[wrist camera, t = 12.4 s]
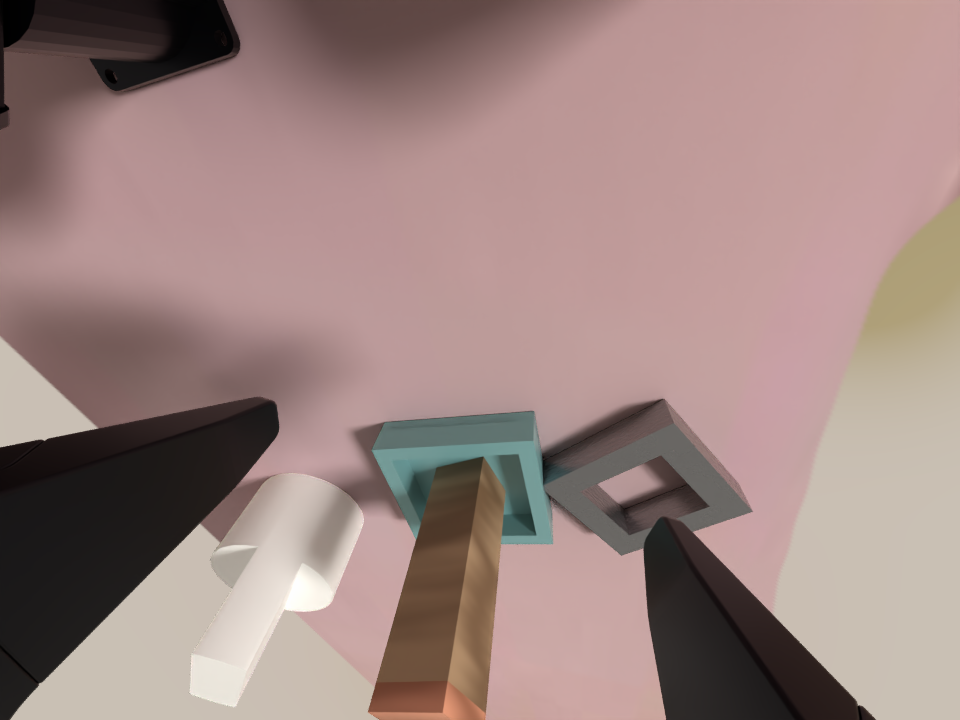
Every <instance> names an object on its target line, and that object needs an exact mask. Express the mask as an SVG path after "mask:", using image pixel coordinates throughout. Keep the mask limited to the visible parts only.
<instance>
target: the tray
mask: <svg viewBox="0 0 960 720" xmlns="http://www.w3.org/2000/svg"><path fill="white" fill-rule="evenodd" d="M372 452H373V454H374V456H375V458H376V460H377V462H378V464H379V466H380V468H381V470H382V472H383V474H384V476H385V478H386V480H387V482H388V484H389V486H390V488H391V490H392V492H393V494H394V496H395V498H396V500H397V502H398V504H399V506H400V508H401V510H402V512H403V514H404V516H405V518H406V520H407V522H408V524H409V526H410V528H411V530H412V532H413V534H414V536H415V538H416V539H417V536H418V532H419V528H420V525H421V521H422V518H423V514H424V511H425V507H426V503H427V500H428V496H429V493H430V489H431V486H432V482H433V479H434V475H435V471H436V468H437V467H441V466H445V465H450V464H454V463H458V462H462V461H466V460H471V459H475V458H479V457H483V456H484V458H485V459H486V461H487V463H488V464H489V466H490V467H491V469H492V470H493V472H494V473H495V475H496V477H497V478H498V480H499V481H500V483H501V484H502V486H503V487H504V489H505V491H506V492H505V504H504V515H503V526H502V537H501V544H553V525H552V509H551V503H550V498H549V494H548V493H547V492H546V491H544V487H543V458H542V453H541V447H540V442H539V436H538V430H537V425H536V419H535V413H534V411H531V412H518V413H504V414H491V415H477V416H464V417H450V418H437V419H424V420H410V421H397V422H385V423H384V425H383V427H382V429H381V431H380V433H379V435H378V438H377V440H376V442H375V444H374V446H373V448H372Z"/></svg>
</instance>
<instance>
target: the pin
mask: <svg viewBox="0 0 960 720" xmlns="http://www.w3.org/2000/svg"><path fill="white" fill-rule="evenodd" d="M505 492H506V491H505V489H504V487H503V486H502V484H501V483H500V481H499V480H498V478H497V477H496V475H495V473H494V472H493V470H492V469H491V467H490V466H489V464H488V463H487V461H486V459H485V458H484V456H483V457H479V458H475V459H471V460H466V461H462V462H458V463H454V464H450V465H445V466H441V467H437V468H436V471H435V475H434V479H433V482H432V486H431V489H430V493H429V496H428V500H427V503H426V507H425V511H424V514H423V518H422V521H421V525H420V528H419V532H418V536H417V539H416V543H415V546H414V550H413V553H412V557H411V560H410V564H409V568H408V571H407V575H406V578H405V582H404V585H403V589H402V592H401V596H400V600H399V603H398V607H397V610H396V614H395V617H394V621H393V625H392V628H391V632H390V635H389V639H388V642H387V646H386V649H385V653H384V657H383V660H382V664H381V667H380V671H379V674H378V678H377V681H376V685H375V689H374V693H373V696H372V699H371V703H370V706H369V710H368V712H369V713H370V714H371V715H373V716H374V717H376V718H378V719H379V720H485V716H486V704H487V693H488V682H489V671H490V660H491V649H492V637H493V626H494V615H495V604H496V593H497V582H498V571H499V559H500V548H501V537H502V526H503V515H504V504H505Z"/></svg>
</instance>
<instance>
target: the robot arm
mask: <svg viewBox="0 0 960 720" xmlns="http://www.w3.org/2000/svg"><path fill="white" fill-rule="evenodd" d="M222 33H224V34H225V35H226V37H227V45H226V46H225V45H224V44H223V42H222V39H221V35H222ZM239 50H240V41H239V37H238V34H237V32H236V30H235V27H234V25H233V23H232V20H231V18H230V15H229V13H228V11H227V8H226V6H225V4H224V1H223V0H0V130H1V129H3V128H5V127H7V126H9V107H8V106H7V105H5V104H4V51H8V52H20V53H33V54H45V55H57V56H69V57H81V58H89V59H90V60H91V62H92V64H93V65H94V67H95V69H96V70H97V72H98V74H99V75H100V77H101V79H102V80H103V82H104V83H105V84H106V85H107V86H108V87H109V88H110V89H112V90H115V91H129V90H132V89H135V88H138V87H141V86H144V85H147V84H150V83H153V82H156V81H159V80H162V79H165V78H168V77H171V76H174V75H177V74H180V73H183V72H186V71H189V70H192V69H196V68H199V67H202V66H205V65H208V64H211V63H214V62H217V61H220V60H223V59H226V58H229V57H232V56H235V55H236V54H238V52H239ZM113 73H115V74H116V76H117V80H116V79H115V77H114V75H113ZM278 432H279V420H278V412H277V405H276V403H275V402H274V401H273V400H269V399H266V398H263V397H253V398H248V399H243V400H238V401H233V402H228V403H223V404H218V405H213V406H208V407H203V408H198V409H193V410H188V411H183V412H178V413H173V414H169V415H164V416H159V417H154V418H149V419H144V420H139V421H134V422H129V423H124V424H119V425H114V426H109V427H104V428H99V429H94V430H89V431H84V432H79V433H74V434H69V435H64V436H59V437H54V438H49V439H47V440H45V441H44V440H35V441H31V442H25V443H21V444H15V445H10V446H6V447H0V720H10V719H11V718H12V716H13V715H14V714H15V712H16V711H17V709H18V708H19V707H20V706H21V705H22V703H23V702H24V701H25V700H26V699H27V697H29V696H30V694H31V693H32V692H33V691H34V690H35V689H36V688H37V687H38V686H39V683H42V682H43V681H44V680H45V679H46V678H47V677H48V676H49V675H50V674H51V673H52V672H53V671H54V670H55V669H56V668H57V667H58V666H59V665H60V664H61V663H62V662H63V661H64V660H65V659H66V658H67V657H68V656H69V655H70V654H71V653H72V652H73V651H74V650H75V649H76V648H77V647H78V646H79V645H80V644H81V643H82V642H83V641H84V640H85V639H86V638H87V637H88V636H89V635H90V634H91V633H92V632H93V630H95V628H97V627H98V626H99V625H100V624H101V622H103V620H105V618H106V617H108V615H109V614H110V613H111V612H112V611H113V610H114V609H115V608H116V607H117V606H118V605H119V604H120V603H121V602H122V601H123V600H124V599H125V598H126V597H127V596H128V595H129V594H130V593H131V592H132V591H133V590H134V589H135V588H136V587H137V586H138V585H139V584H140V583H141V582H142V581H143V580H144V579H145V578H146V577H147V576H148V575H149V574H150V573H151V572H152V571H153V570H154V569H155V568H156V567H157V566H158V565H159V564H160V563H161V562H162V561H163V560H164V559H165V558H166V557H167V556H168V555H169V554H170V553H171V552H172V551H173V550H174V549H175V548H176V547H177V546H178V545H179V544H180V543H181V542H182V541H183V540H184V539H185V538H186V537H187V536H188V535H189V534H190V533H191V532H192V531H193V530H194V529H195V528H196V527H197V525H199V524H200V523H201V522H202V521H203V520H204V519H205V518H206V517H207V515H208V514H209V513H210V512H211V511H212V510H213V509H214V508H215V507H216V506H217V505H218V504H219V503H220V502H221V501H222V500H223V499H224V498H225V497H226V496H227V495H228V494H229V493H230V492H231V491H232V490H233V489H234V488H235V487H236V486H237V485H238V484H239V482H240V481H241V480H242V479H243V478H244V477H245V475H246V474H247V473H248V472H249V470H250V469H251V468H252V467H253V465H254V464H255V463H256V462H257V461H258V459H259V458H260V457H261V456H262V454H263V453H264V452H265V451H266V449H267V448H268V447H269V446H270V444H271V443H272V442H273V441H274V439H275V438H276V436H277V434H278ZM644 566H645V581H646V597H647V610H648V619H649V625H650V631H651V637H652V642H653V648H654V654H655V659H656V665H657V670H658V676H659V682H660V687H661V693H662V698H663V704H664V709H665V715H666V720H876V719H875V718H874V717H873V716H872V715H871V714H870V713H869V712H868V711H867V710H866V709H865V708H864V707H863V706H860V705H859V706H858V704H857V701H856V700H855V699H854V698H853V697H852V696H851V695H850V694H849V692H848V691H847V690H846V689H844V687H843V686H841V684H840V683H839V682H838V681H837V680H836V679H835V678H834V677H833V676H832V675H831V674H830V673H829V672H828V671H827V670H826V669H825V668H824V667H823V666H822V665H821V664H820V663H819V662H818V661H817V660H816V659H815V658H814V657H813V656H812V654H810V652H809V651H808V650H807V649H806V648H805V647H804V646H803V645H802V644H801V643H800V642H799V641H798V640H797V639H796V638H795V637H794V636H793V635H792V634H791V633H790V632H789V631H788V630H787V629H786V628H785V627H784V626H783V625H782V624H781V623H780V622H779V621H778V620H777V619H776V618H775V616H774V615H773V614H772V613H771V612H770V611H769V610H768V609H767V608H766V607H765V606H764V605H763V604H762V603H761V602H760V601H759V600H758V599H757V598H756V597H755V596H754V595H753V594H752V593H751V592H750V591H749V590H748V589H747V588H746V587H745V586H744V585H743V584H742V583H741V582H740V580H739V579H738V578H737V577H736V576H735V575H734V574H733V573H732V572H731V571H730V570H729V569H728V568H727V567H726V566H725V565H724V564H723V563H722V562H721V561H720V560H719V559H718V558H717V557H716V556H715V555H714V554H713V553H712V552H711V551H710V550H709V549H708V548H707V547H706V546H705V545H704V544H703V542H702V541H701V540H700V539H699V538H698V537H697V536H696V535H695V534H694V533H693V532H692V531H691V530H690V529H689V528H688V527H687V526H686V525H685V524H684V523H683V522H682V521H680V520H677V519H674V518H671V517H667V516H661V517H660V518H659V519H658V520H657V522H656V523H655V525H654V526H653V528H652V529H651V531H650V532H649V534H648V535H647V537H646V539H645V542H644Z"/></svg>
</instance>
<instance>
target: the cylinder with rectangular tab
mask: <svg viewBox="0 0 960 720" xmlns="http://www.w3.org/2000/svg"><path fill="white" fill-rule="evenodd" d="M363 523H364V518H363V513H362V511H361V509H360V507H359V506H358V504H357V503H356V502H355V501H354V500H353V499H352V498H351V497H350V496H349V495H348V494H347V493H346V492H344V491H343V490H341V489H340V488H338V487H337V486H335V485H333V484H331V483H329V482H327V481H325V480H323V479H319V478H316V477H313V476H309V475H304V474H296V473H287V474H279V475H276V476H272V477H270V478H269V479H267V480H266V481H265V482H264V483H263V484H262V485H261V487H260V488H259V490H258V491H257V492H256V494H255V495H254V497H253V498H252V499H251V501H250V502H249V504H248V505H247V506H246V508H245V509H244V511H243V512H242V513H241V515H240V516H239V518H238V519H237V520H236V522H235V523H234V525H233V526H232V527H231V529H230V530H229V532H228V533H227V534H226V536H225V537H224V539H223V540H222V541H221V543H220V544H219V546H218V547H217V548H216V550H215V551H214V553H213V555H212V557H211V559H210V560H211V566H212V568H213V570H214V572H215V573H216V575H217V576H218V577H219V578H220V579H221V580H222V581H223V582H224V583H225V584H227V585H228V586H229V587H231V588H232V590H231V591H230V593H229V595H228V596H227V598H226V600H225V601H224V603H223V604H222V606H221V608H220V609H219V611H218V612H217V614H216V615H215V617H214V619H213V620H212V622H211V623H210V625H209V627H208V628H207V630H206V631H205V633H204V635H203V636H202V638H201V639H200V641H199V643H198V644H197V646H196V647H195V649H194V651H193V652H192V654H191V678H190V694H192V695H194V696H197V697H200V698H203V699H206V700H209V701H212V702H216V703H220V704H223V705H227V706H231V707H236V705H237V703H238V701H239V699H240V697H241V695H242V693H243V691H244V689H245V687H246V685H247V683H248V681H249V679H250V677H251V675H252V673H253V671H254V669H255V667H256V665H257V663H258V661H259V659H260V657H261V655H262V653H263V651H264V649H265V647H266V645H267V643H268V641H269V639H270V637H271V635H272V633H273V631H274V629H275V627H276V625H277V623H278V621H279V619H280V617H281V615H282V613H283V611H284V610H290V611H305V612H308V611H315V610H320V609H322V608H325V607H327V606H328V605H329V604H330V603H331V602H332V600H333V597H334V595H335V593H336V590H337V588H338V585H339V583H340V580H341V578H342V576H343V573H344V571H345V568H346V566H347V564H348V561H349V559H350V556H351V554H352V551H353V549H354V547H355V544H356V542H357V539H358V537H359V534H360V532H361V530H362V527H363Z"/></svg>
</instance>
